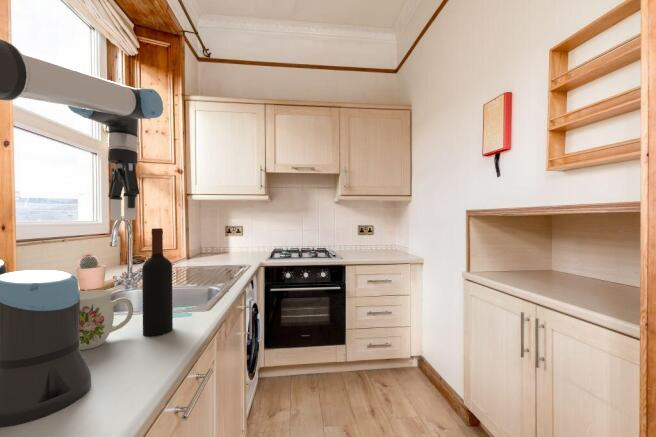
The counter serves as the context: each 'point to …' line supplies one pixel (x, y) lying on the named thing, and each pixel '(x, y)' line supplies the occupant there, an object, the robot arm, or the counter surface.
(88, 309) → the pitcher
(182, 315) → the mat
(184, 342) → the counter surface
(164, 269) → the wine bottle
